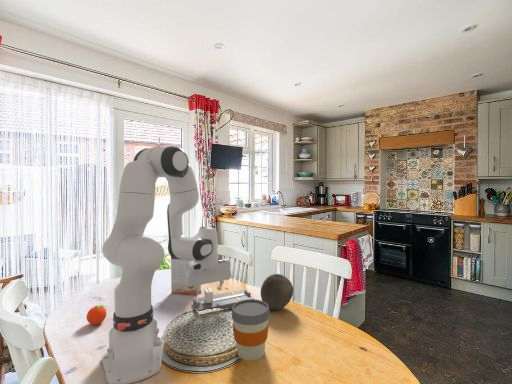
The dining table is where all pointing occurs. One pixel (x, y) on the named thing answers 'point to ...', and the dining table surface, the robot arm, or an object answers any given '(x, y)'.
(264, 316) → the reusable coffee cup
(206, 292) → the fader
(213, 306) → the console
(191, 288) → the cracker box
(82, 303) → the dining table surface
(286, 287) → the dark grey stone
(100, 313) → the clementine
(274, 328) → the dining table surface
